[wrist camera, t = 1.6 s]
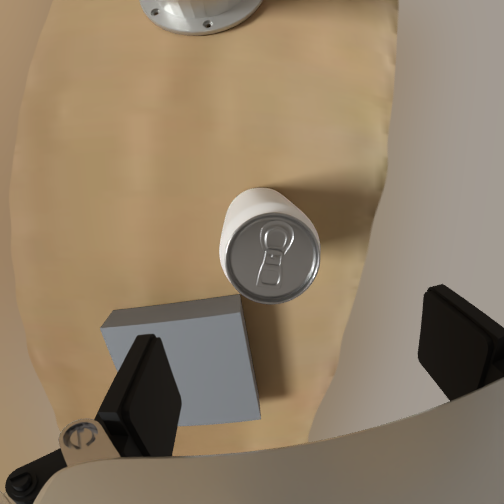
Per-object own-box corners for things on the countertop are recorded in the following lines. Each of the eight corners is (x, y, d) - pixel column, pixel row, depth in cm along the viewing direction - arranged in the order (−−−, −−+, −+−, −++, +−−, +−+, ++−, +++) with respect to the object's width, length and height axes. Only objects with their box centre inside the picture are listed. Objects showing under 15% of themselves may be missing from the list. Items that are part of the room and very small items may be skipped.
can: (299, 192, 29) (337, 214, 18) (287, 258, 31) (314, 315, 20) (230, 182, 29) (224, 197, 17) (221, 249, 31) (211, 304, 19)
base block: (113, 310, 32) (100, 328, 28) (239, 294, 32) (240, 312, 28) (150, 405, 36) (143, 426, 32) (258, 396, 36) (261, 419, 32)
